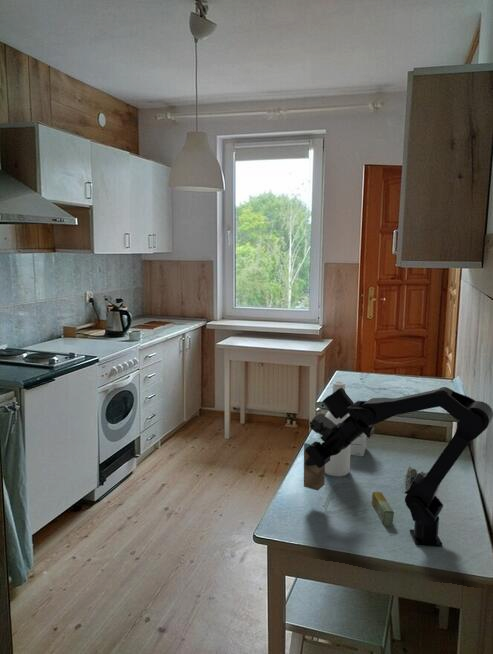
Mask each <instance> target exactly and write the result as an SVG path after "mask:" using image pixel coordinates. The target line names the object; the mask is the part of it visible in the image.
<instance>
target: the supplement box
mask: <svg viewBox="0 0 493 654" xmlns="http://www.w3.org/2000/svg"><path fill="white" fill-rule="evenodd" d="M366 449H367V436H366V435H365V433H363V434H362V435H360V436H359V437H358V438H357V439H355V440H354V441H353V442H351V451H350V456H355V457H357V456H358V457H365V452H366Z"/></svg>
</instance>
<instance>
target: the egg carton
mask: <svg viewBox="0 0 493 654" xmlns="http://www.w3.org/2000/svg"><path fill="white" fill-rule="evenodd" d="M408 466H409V467H408V468H407V471H406V473H405V476H404V485H405V487H404V489H405V490H407V489H408V487H409V486H410V485H411V483H412V482H411V481H412V480H411V479H413V478H414V479H415V478H416V476H417V475H418V474H419V473H421V474H422V475H423V476H425V475H426V474H427V473H428V472H424V471H420V472H418V471H417V468H413V467H411V466H410V465H408ZM414 479H413V480H414Z"/></svg>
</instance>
